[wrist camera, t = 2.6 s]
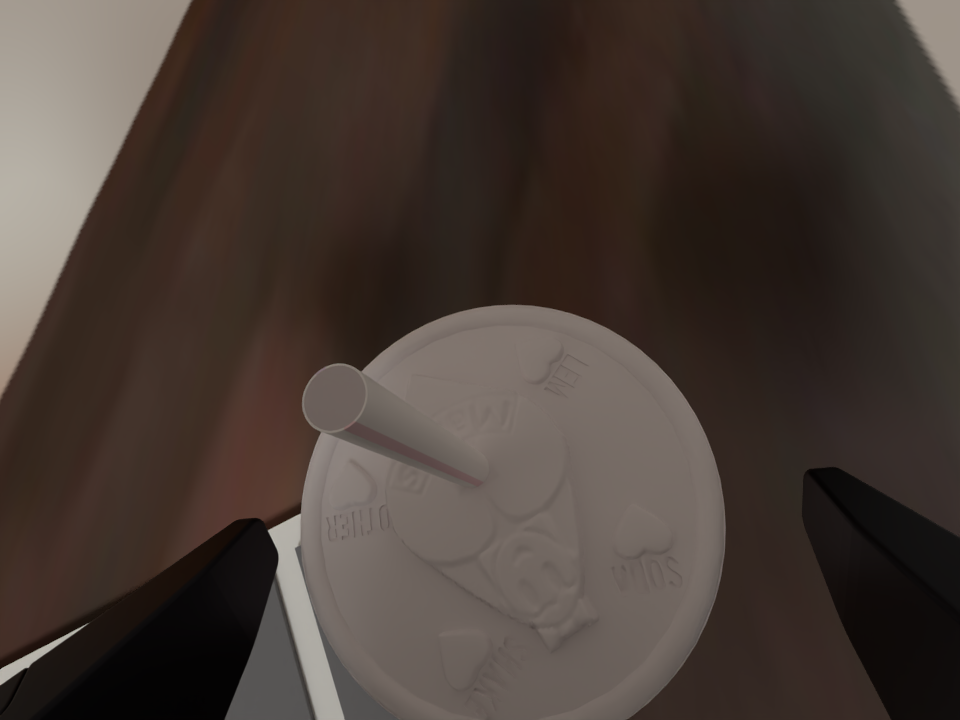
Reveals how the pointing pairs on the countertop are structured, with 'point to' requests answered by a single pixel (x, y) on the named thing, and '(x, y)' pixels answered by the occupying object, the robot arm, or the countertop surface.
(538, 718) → the smoothie
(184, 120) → the countertop surface
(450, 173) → the countertop surface
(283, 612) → the board
